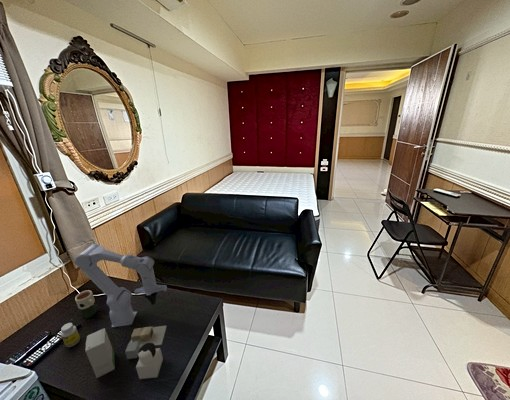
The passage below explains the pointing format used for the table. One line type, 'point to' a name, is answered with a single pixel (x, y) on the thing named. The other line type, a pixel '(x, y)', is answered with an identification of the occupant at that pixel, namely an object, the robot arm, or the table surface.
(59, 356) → the table surface
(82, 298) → the character mug
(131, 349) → the slate block
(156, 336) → the felt mat
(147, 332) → the birch block
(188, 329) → the table surface
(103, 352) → the skincare box
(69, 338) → the supplement bottle
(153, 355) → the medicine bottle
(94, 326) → the table surface
